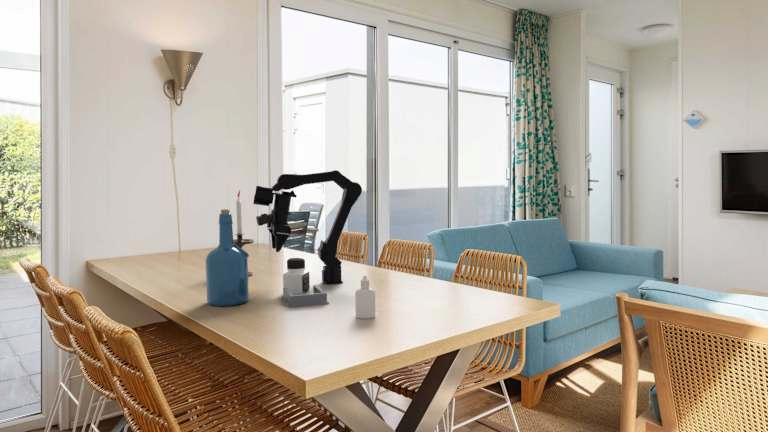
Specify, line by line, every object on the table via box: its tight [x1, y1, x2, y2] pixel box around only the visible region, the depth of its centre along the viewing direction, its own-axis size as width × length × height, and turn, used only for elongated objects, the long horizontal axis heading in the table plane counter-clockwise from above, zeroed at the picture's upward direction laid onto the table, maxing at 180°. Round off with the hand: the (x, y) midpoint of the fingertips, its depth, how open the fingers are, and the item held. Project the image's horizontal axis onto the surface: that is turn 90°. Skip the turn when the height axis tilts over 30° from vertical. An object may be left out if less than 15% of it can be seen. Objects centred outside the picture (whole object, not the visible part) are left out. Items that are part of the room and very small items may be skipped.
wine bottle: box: [205, 208, 250, 307], centre depth 178 cm, size 14×13×30 cm
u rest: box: [281, 284, 330, 308], centre depth 179 cm, size 14×13×3 cm
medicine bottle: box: [282, 257, 311, 295], centre depth 192 cm, size 7×7×12 cm
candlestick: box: [233, 189, 254, 278], centre depth 226 cm, size 11×11×35 cm
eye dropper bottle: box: [354, 274, 376, 320], centre depth 157 cm, size 4×6×12 cm
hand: (275, 250), depth 204 cm, fingers open, 9 cm apart
